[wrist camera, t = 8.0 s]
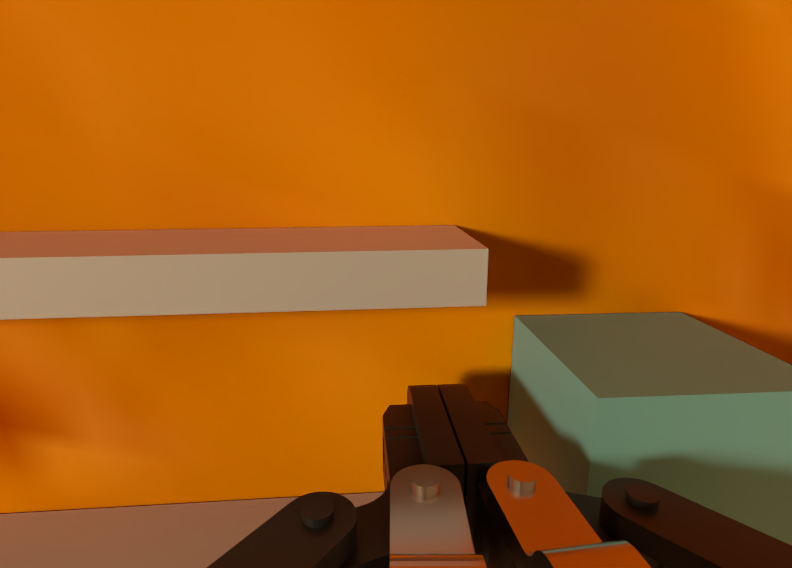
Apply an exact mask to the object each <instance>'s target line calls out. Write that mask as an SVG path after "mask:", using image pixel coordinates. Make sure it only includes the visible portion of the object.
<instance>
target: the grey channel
mask: <svg viewBox="0 0 792 568" xmlns="http://www.w3.org/2000/svg"><path fill="white" fill-rule="evenodd" d="M488 252H489V249H488V248H487V247H485V246H484V245H482V244H481V243H480V242H478V241H477V240H475V239H474V238H472V237H471V236H469V235H468V234H467V233H465V232H464V231H462V230H461V229H459V228H458V227H456V226H455V225H436V226H371V227H305V228H239V229H173V230H107V231H41V232H0V320H3V319H39V318H74V317H109V316H145V315H180V314H216V313H251V312H286V311H322V310H357V309H392V308H428V307H463V306H486V298H487V275H488ZM383 493H384V492H376V493H358V494H341V495H342V496H344V497H346V498H347V499H349V500H350V501H351V502H352V503H353V505H354V506H355V507H358V506H361V505H364V504H367V503H370V502H372V501H374V500H375V499H377V498H378V497H380V496H381V495H382V494H383ZM296 498H298V497H288V498H271V499H254V500H236V501H219V502H201V503H184V504H166V505H149V506H132V507H114V508H97V509H79V510H62V511H44V512H27V513H10V514H0V568H207V567H208V566H209V565H211V564H212V563H213V562H214V561H216V560H217V559H218V558H220V557H221V556H222V555H223V554H225V553H226V552H227V551H228V550H230V549H231V548H232V547H234V546H235V545H236V544H237V543H239V542H240V541H241V540H243V539H244V538H245V537H246V536H248V535H249V534H250V533H252V532H253V531H254V530H255V529H257V528H258V527H259V526H261V525H262V524H263V523H264V522H266V521H267V520H268V519H270V518H271V517H272V516H273V515H275V514H276V513H277V512H279V511H280V510H281V509H282V508H284V507H285V506H286V505H288V504H289V503H290V502H292V501H293V500H295V499H296Z"/></svg>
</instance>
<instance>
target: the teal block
mask: <svg viewBox="0 0 792 568" xmlns="http://www.w3.org/2000/svg"><path fill="white" fill-rule="evenodd" d="M507 425H508V426H509V428H510V430H511V432H512V434H513V435H514V437H515V439H516V440H517V442H518V444H519V446H520V447H521V449H522V451H523V453H524V454H525V456H526V458H527V460H528V461H529V462H530V463H533V464H536V465H538V466H540V467H542V468H544V469H545V470H547V471H548V472H549V473H551V474H552V476H553V477H554V478H555V479H556V481H557V482H558V483H559V485H560V486H561V487H562V489H563V490H564V491H567V492H571V493H575V494H581V495H587V496H593V497H599V498H601V496H602V489H603V486H604V485H605V483H607V482H608V481H610V480H612V479H616V478H636V479H641V480H644V481H648V482H651V483H653V484H656V485H658V486H660V487H662V488H665V489H667V490H669V491H671V492H673V493H676V494H678V495H680V496H682V497H685V498H687V499H689V500H691V501H693V502H696V503H698V504H700V505H702V506H705V507H707V508H709V509H711V510H714V511H716V512H718V513H720V514H722V515H725V516H727V517H729V518H731V519H734V520H736V521H738V522H740V523H743V524H745V525H747V526H749V527H751V528H754V529H756V530H758V531H760V532H763V533H765V534H767V535H769V536H771V537H774V538H776V539H778V540H780V541H783V542H785V543H787V544H789V545H792V365H791V364H789V363H787V362H785V361H782V360H780V359H778V358H776V357H774V356H772V355H770V354H768V353H766V352H764V351H762V350H759V349H757V348H755V347H753V346H751V345H749V344H747V343H745V342H743V341H741V340H738V339H736V338H734V337H732V336H730V335H728V334H726V333H724V332H722V331H720V330H718V329H715V328H713V327H711V326H709V325H707V324H705V323H703V322H701V321H699V320H697V319H695V318H692V317H690V316H688V315H686V314H684V313H682V312H661V313H614V314H566V315H519V316H515V319H514V334H513V348H512V363H511V377H510V392H509V407H508V421H507Z"/></svg>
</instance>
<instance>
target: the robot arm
mask: <svg viewBox="0 0 792 568" xmlns="http://www.w3.org/2000/svg"><path fill="white" fill-rule="evenodd" d="M383 474H384V485H385V492H384V493H383V494H382V495H381V496H380V497H378V498H377V499H375V500H374V501H372V502H370V503H367V504H364V505H361V506H358V507H355V506H354V505H353V503H352V502H351V501H350V500H349V499H347V498H346V497H344V496H342V495H340V494H337V493H332V492H314V493H309V494H306V495H303V496H300V497H298V498H296V499H295V500H293V501H292V502H290V503H289V504H288V505H286V506H285V507H284V508H282V509H281V510H280V511H279V512H277V513H276V514H275V515H273V516H272V517H271V518H270V519H268V520H267V521H266V522H264V523H263V524H262V525H261V526H259V527H258V528H257V529H255V530H254V531H253V532H252V533H250V534H249V535H248V536H246V537H245V538H244V539H243V540H241V541H240V542H239V543H237V544H236V545H235V546H234V547H232V548H231V549H230V550H228V551H227V552H226V553H225V554H223V555H222V556H221V557H220V558H218V559H217V560H216V561H214V562H213V563H212V564H211V565H209V566H208V567H207V568H792V545H789V544H787V543H785V542H783V541H780V540H778V539H776V538H774V537H771V536H769V535H767V534H765V533H763V532H760V531H758V530H756V529H754V528H751V527H749V526H747V525H745V524H743V523H740V522H738V521H736V520H734V519H731V518H729V517H727V516H725V515H722V514H720V513H718V512H716V511H714V510H711V509H709V508H707V507H705V506H702V505H700V504H698V503H696V502H693V501H691V500H689V499H687V498H685V497H682V496H680V495H678V494H676V493H673V492H671V491H669V490H667V489H665V488H662V487H660V486H658V485H656V484H653V483H651V482H648V481H644V480H641V479H636V478H616V479H612V480H610V481H608V482H607V483H605V485H604V486H603V489H602V496H601V498H599V497H593V496H587V495H581V494H575V493H571V492H567V491H564V490H563V489H562V487H561V486H560V485H559V483H558V482H557V481H556V479H555V478H554V477H553V476H552V474H551V473H549V472H548V471H547V470H545V469H544V468H542V467H540V466H538V465H536V464H533V463H530V462H529V461H528V460H527V458H526V456H525V454H524V453H523V451H522V449H521V447H520V446H519V444H518V442H517V440H516V439H515V437H514V435H513V434H512V432H511V430H510V428H509V426H508V425H506V421H505V420H504V418H503V416H502V414H501V413H500V411H499V410H497V409H496V408H495V407H493V406H492V405H490V404H489V403H488V402H474V401H473V398H472V396H471V394H470V392H469V390H468V388H467V386H466V385H465V384H443V385H437V386H436V385H415V386H408V391H407V405H389V407H388V408H387V410H386V412H385V413H384V415H383Z"/></svg>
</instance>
